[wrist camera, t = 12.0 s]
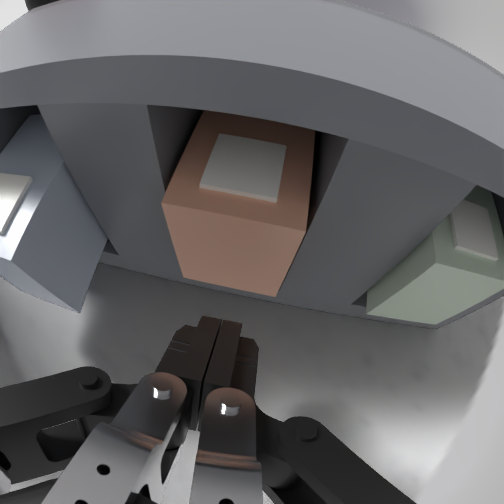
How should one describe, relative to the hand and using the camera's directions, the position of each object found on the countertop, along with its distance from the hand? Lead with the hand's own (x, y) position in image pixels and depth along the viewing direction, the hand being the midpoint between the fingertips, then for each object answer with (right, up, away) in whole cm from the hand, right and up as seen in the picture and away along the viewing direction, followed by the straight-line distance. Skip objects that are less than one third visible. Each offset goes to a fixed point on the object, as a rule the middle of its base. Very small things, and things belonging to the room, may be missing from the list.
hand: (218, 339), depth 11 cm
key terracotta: (+1, +5, +5) cm, 7 cm away
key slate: (-9, +4, +3) cm, 10 cm away
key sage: (+10, +3, +5) cm, 11 cm away
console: (+1, +4, +8) cm, 10 cm away
